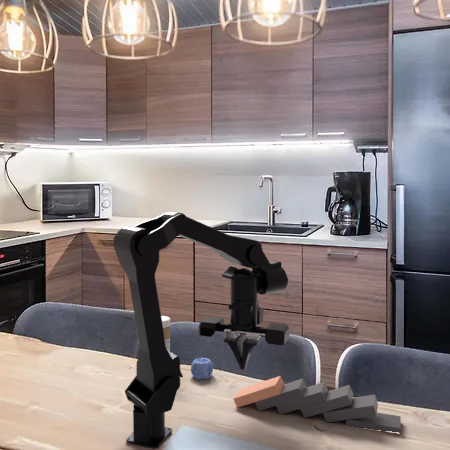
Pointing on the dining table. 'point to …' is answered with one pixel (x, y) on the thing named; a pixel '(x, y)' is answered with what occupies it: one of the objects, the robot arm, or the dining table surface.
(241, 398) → the domino
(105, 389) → the dining table surface
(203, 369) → the decorative dice
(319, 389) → the domino
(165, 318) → the sprinkles bottle
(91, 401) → the dining table surface
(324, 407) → the domino
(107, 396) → the dining table surface
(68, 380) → the dining table surface
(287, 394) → the domino
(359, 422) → the domino
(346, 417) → the domino
